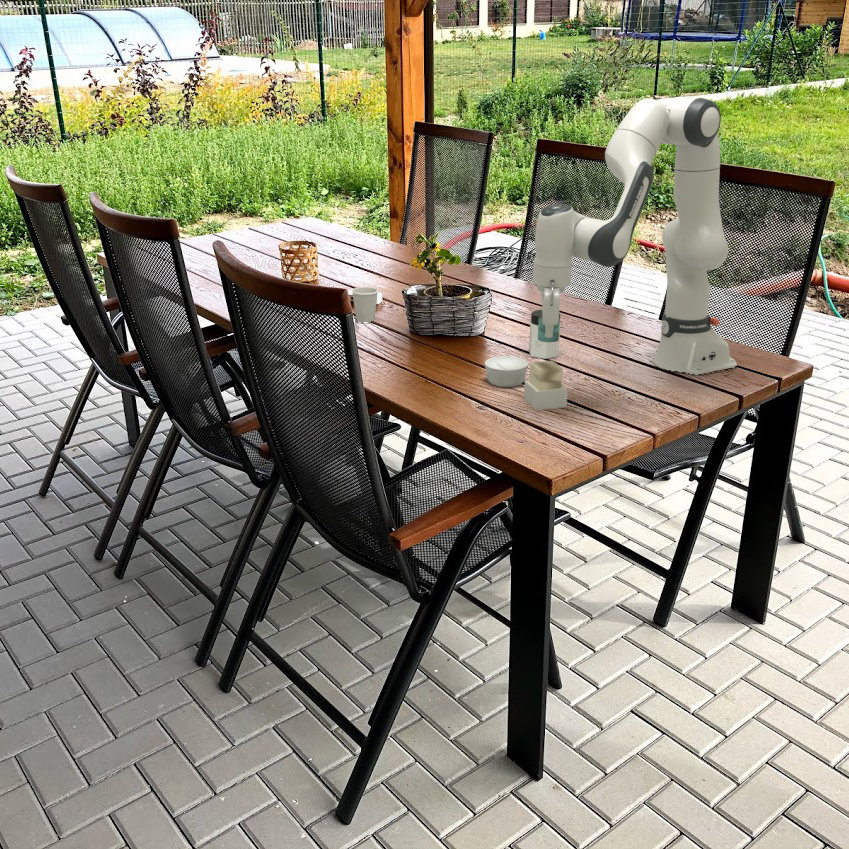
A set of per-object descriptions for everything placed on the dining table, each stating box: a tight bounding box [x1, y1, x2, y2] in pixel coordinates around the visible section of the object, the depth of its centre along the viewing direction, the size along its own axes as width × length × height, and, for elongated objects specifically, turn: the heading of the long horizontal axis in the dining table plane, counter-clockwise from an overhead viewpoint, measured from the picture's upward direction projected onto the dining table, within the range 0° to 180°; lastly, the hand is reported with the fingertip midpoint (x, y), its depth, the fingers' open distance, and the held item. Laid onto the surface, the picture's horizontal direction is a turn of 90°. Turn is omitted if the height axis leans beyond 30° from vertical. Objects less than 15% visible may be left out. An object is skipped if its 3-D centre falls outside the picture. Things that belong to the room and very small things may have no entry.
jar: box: [528, 309, 561, 360], centre depth 260 cm, size 9×8×12 cm
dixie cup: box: [351, 286, 379, 322], centre depth 290 cm, size 8×8×10 cm
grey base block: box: [523, 379, 568, 411], centre depth 228 cm, size 8×8×5 cm
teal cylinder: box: [538, 317, 561, 342], centre depth 221 cm, size 5×5×5 cm
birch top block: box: [528, 360, 564, 390], centre depth 226 cm, size 6×6×5 cm
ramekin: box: [484, 355, 529, 388], centre depth 241 cm, size 11×11×5 cm
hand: (548, 332), depth 221 cm, fingers closed on teal cylinder, 5 cm apart
